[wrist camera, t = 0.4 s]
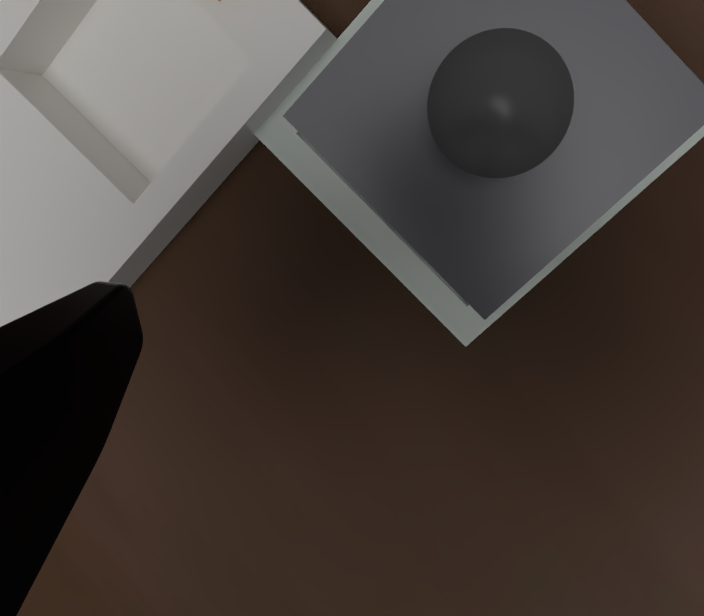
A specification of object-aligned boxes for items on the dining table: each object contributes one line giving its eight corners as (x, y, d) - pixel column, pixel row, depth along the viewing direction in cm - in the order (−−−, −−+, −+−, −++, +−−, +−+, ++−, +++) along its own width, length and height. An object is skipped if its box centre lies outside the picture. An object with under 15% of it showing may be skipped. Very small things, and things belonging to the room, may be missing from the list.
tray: (465, 337, 23) (465, 346, 22) (264, 134, 23) (254, 134, 21) (700, 127, 20) (714, 126, 19) (478, -109, 20) (480, -125, 19)
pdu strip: (-39, 479, 28) (-108, 525, 25) (-180, 349, 28) (-271, 378, 24) (343, 45, 21) (322, 25, 18) (167, -136, 21) (110, -193, 17)
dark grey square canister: (468, 231, 22) (489, 353, 9) (372, 133, 22) (248, 111, 9) (575, 129, 21) (782, 98, 8) (475, 23, 20) (510, -196, 7)
